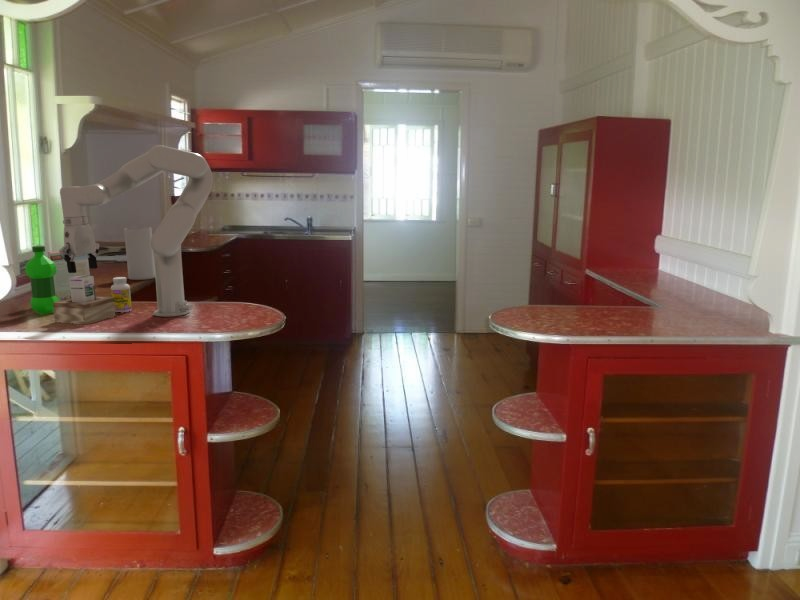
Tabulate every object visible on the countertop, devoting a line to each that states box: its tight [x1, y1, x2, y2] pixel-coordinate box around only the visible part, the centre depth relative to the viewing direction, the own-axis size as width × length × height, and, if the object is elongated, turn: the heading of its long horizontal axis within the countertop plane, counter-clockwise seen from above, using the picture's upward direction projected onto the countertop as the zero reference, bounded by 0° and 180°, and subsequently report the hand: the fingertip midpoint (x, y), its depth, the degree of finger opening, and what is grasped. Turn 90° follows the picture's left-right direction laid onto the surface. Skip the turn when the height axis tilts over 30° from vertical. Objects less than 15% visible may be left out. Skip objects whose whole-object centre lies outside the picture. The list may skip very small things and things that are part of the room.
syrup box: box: [69, 274, 97, 303], centre depth 244 cm, size 6×6×14 cm
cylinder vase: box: [123, 226, 155, 281], centre depth 339 cm, size 12×12×25 cm
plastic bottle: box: [24, 245, 59, 315], centre depth 256 cm, size 10×10×25 cm
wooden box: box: [53, 296, 116, 325], centre depth 245 cm, size 14×14×7 cm
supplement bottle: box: [110, 276, 132, 313], centre depth 257 cm, size 7×7×13 cm
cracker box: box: [47, 250, 91, 301], centre depth 279 cm, size 14×6×21 cm, turn 126°
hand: (83, 270), depth 243 cm, fingers open, 9 cm apart
